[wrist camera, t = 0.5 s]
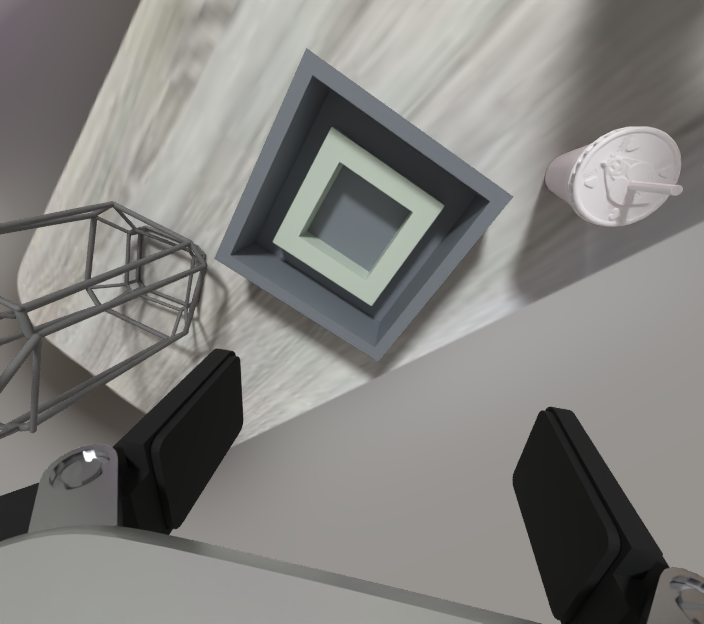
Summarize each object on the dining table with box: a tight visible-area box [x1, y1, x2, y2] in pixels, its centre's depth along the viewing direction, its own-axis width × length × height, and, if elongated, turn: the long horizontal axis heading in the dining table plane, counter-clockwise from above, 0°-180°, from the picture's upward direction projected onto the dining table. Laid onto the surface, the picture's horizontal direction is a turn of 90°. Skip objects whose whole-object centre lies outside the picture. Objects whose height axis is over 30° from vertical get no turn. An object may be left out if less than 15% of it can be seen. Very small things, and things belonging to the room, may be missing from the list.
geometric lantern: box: [0, 201, 207, 439], centre depth 26 cm, size 16×16×35 cm
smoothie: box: [545, 126, 683, 227], centre depth 25 cm, size 6×6×14 cm
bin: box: [214, 48, 513, 362], centre depth 33 cm, size 19×19×7 cm
